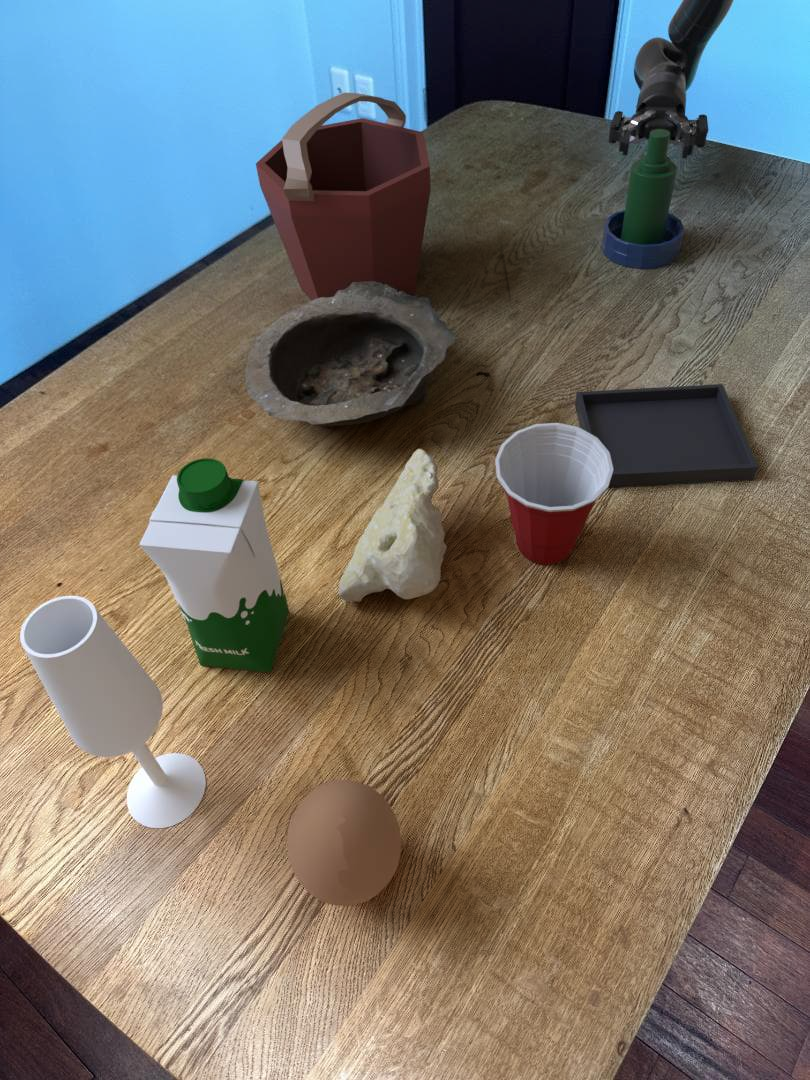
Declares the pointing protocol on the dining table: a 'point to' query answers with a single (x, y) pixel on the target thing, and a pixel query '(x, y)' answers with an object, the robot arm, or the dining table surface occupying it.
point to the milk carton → (220, 566)
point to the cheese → (400, 539)
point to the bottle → (650, 193)
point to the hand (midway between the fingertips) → (655, 150)
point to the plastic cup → (551, 486)
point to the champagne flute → (109, 705)
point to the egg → (344, 842)
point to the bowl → (640, 253)
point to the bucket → (349, 197)
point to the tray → (668, 435)
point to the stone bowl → (348, 356)
